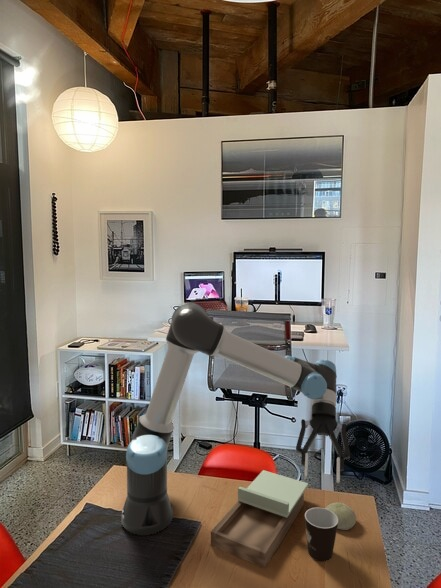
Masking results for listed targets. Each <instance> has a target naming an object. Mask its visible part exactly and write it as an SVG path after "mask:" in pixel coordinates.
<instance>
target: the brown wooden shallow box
mask: <svg viewBox="0 0 441 588" xmlns="http://www.w3.org/2000/svg"><path fill="white" fill-rule="evenodd" d="M304 494H305V493H303V494H302V496H301V497H300V499H299V500H298V502H297V503H296V505H295V507H294V508H293V510H292V511H291V513H290V514H289V516H288V517H287V518H286V517H283V516H280V515H278V514H275V513H272V512H269V511H266V510H263V509H260V508H257V507H255V506H252V505H249V504H246V503H243V502H240V501H238V500H237V502H236V503H234V505H233V506H232V507H231V509H229V510H228V512H227V513H226V514H225V515H224V516H223V517H222V518H221V519H220V520H219V522H218V523H217V524H216V525H215V526H214V528H213V529H212V530H211V531H210V546H211V547H213V548H216V549H219V550H220V551H223V552H225V553H228V554H230V555H233V556H235V557H238V558H239V559H242V560H243V561H247V562H249V563H251V564H254V565H257V566H258V567H261V568H264V569H265V568H267V565H268V564H269V562H270V561H271V559H272V557H273V556H274V555H275V552H276V551H277V549H278V547H280V544H281V543H282V541H283V539H285V536H286V535H287V533H288V532H289V529H290V528H291V526H292V524H293V523H294V522H295V520H296V518H297V516H298V515H299V513H300V512H301V511H302V509H303V507H304V499H305V497H304ZM301 508H302V509H301Z"/></svg>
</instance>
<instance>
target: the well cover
mask: <svg viewBox="0 0 441 588" xmlns="http://www.w3.org/2000/svg"><path fill="white" fill-rule="evenodd" d="M308 486H309V483H308V482H305V481H301V480H298V479H295V478H292V477H288V476H285V475H281V474H278V473H274V472H271V471H267V470H265V469H263V470H262V471H260V473H259V474H258V475H257V476H256V477H255V478H254V479H253V481H252V482H251V483H250V484H249V485H248V486H247V487H243V486H239V487H238V488H237V502H238V501H240V502H243V503H246V504H249V505H252V506H255V507H257V508H260V509H263V510H266V511H269V512H272V513H275V514H278V515H280V516H283V517H286V518H287V517H288V516H289V514H290V513H291V511H292V510H293V508H294V507H295V505H296V503H297V502H298V500H299V499H300V497H301V496H302V494H305V491H306V490H307V488H308Z"/></svg>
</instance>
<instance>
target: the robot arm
mask: <svg viewBox="0 0 441 588" xmlns="http://www.w3.org/2000/svg"><path fill="white" fill-rule="evenodd" d="M165 341H166V343H167V345H168V347H167V350H166V353H165V356H164V359H163V360H162V361H163V362H162V364H161V367H160V371H159V374H158V377H157V378H156V382H155V383H156V384H155V385H154V389H153V391H152V395H151V397H150V400H149V404H148V407H147V409H146V413H144V414H142V415H141V416H139V419H138V422H137V424H136V427H135V429H134V431H133V433H132V437H131V441H130V442H129V444H127V448H126V453H125V454H126V455H125V460H126V488H127V489H126V494H127V495H126V498H125V501H124V504H123V508H122V511H121V516H120V517H121V526H122V525H123V526H122V528H123V527H124V528H125V529H126V530H128V531H129V532H130V534H132V533H133V535H135V534H137V535H136V536H150V534H152V535H155V534H157V533H156V532H158V533H160V532H159V531H161V530H162V529H164V528H166V527H167V526H168V525H169V524H170V523H172V522H173V520H172V519H174V508H173V505H172V503H171V501H170V497H169V493H168V447H169V444H170V440H171V439H172V435H173V432H174V429H175V427H174V424H173V422H172V421H173V419H174V418H173V417H174V414H175V412H176V409H177V405H178V401H179V400H180V396H181V393H182V390H183V388H184V386H185V382H186V379H187V377H188V374H189V369H190V367H191V364H192V361H193V358H194V355H195V354H197V353H201V354H204V355H207V356H209V357H213V356H218V357H220V358H223V359H225V360H227V361H230V362H232V363H233V364H234V363H235V365H236V364H237V365H239V366H241V367H244V368H246V369H248V370H250V371H253V372H255V373H257V374H259V375H262V376H264V377H267V378H269V379H270V380H273V381H275V382H278V383H280V384H283V385H285V386H287V387H289V388H292V389H293V390H295V391H298V392H300V393H302V395H304V396H305V397H307V398H308V399H310V400H311V404H312V405H311V417H310V419H309V420H305V419H303V418H302V419H301V421H300V423H301V426H300V427H301V428H300V431H299V434H298V435H299V436H298V438H297V442H296V446H295V452H296V453H298V454H300V455H301V456H300V457H301V458H300V459H301V460H300V464H301V466H303V467H304V476H303V477H304V479H306V480H307V479H308V471H309V469H308V468H309V467H308V465H309V453H308V451H309V450H310V448H311V446H312V444H313V442H314V440H315V439H316V437H317V436H325V437H329V439H330V441H331V444H332V445H333V447H334V450H335V452H336V454H337V458H336V484H340V482H341V472H344V468H345V460H349V459H350V458H351V451H350V446H349V442H348V437H347V432H346V430H347V429H346V428H347V425H346V423H342V424H341V423H338V422H337V408H336V406H337V367H336V364H335V363H334V362H333V361H330V360H328V359H320V360H316V361H315V362H314V363H312V362H309V361H307V360H304V359H302V358H298V357H296V356H292V355H284V356H283V355H281V354H278V353H276V352H274V351H272V350H270V349H267V348H265V347H262V346H260V345H258V344H256V343H254V342H252V341H250V340H247V339H245V338H243V337H240V336H239V335H236V334H234V333H232V332H229V331H228V330H226V326H224V325H223V324H220V323H219V322H217V321H215V320H213V319H212V318H211V317H209V315H208V313H207V310H206V309H205V308H204V307H202V306H201V305H199V304H197V303H194V302H186V303H183V304H181V305H179V306H177V308H176V309H175V310H174V311H173V313H172V316H171V322H170V326H169V328H168V331H167V334H166V337H165ZM309 426H310V428H312V431H311V434H310V435H309V436H308V438H307V440H306V442H305V444H304V446H303V447H302V445H303V443H304V442H303V441H304V438H305V433H306V429H308V427H309ZM337 429H338V431H339V432H340V438H341V442H342V446H343V450H342V448H341V446H340V444H339V441H338V438H337V437H336V434H335V430H337ZM343 451H344V452H343ZM171 521H172V522H171ZM170 525H171V524H170ZM170 525H169V526H170ZM169 526H168V527H169ZM168 527H167V528H168ZM124 528H123V529H124ZM167 528H166V529H167ZM125 529H124V530H125ZM126 530H125V531H126ZM164 530H165V529H164ZM128 531H127V532H128ZM129 532H128V533H129ZM161 532H162V531H161ZM154 533H155V534H154Z"/></svg>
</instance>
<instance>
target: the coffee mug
mask: <svg viewBox="0 0 441 588" xmlns="http://www.w3.org/2000/svg"><path fill="white" fill-rule="evenodd" d="M325 508H326V507H325ZM325 508H324V507H318V506H317V507H312V506H307V507H306V511H305V513H304V523H305V533H306V544H307V545H306V547H307V553H308V554H307V555H309V556H310V558H312V559H313V560H315V561H317V562H328V561H330V560H331V559H332V557H333V554H334V548H335V544H336V543H335V541H336V536H337V530H338V529H337V526H338V517H337V516H336V514H335V513H333V512H332V511H330V510H328V509H325Z"/></svg>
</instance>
